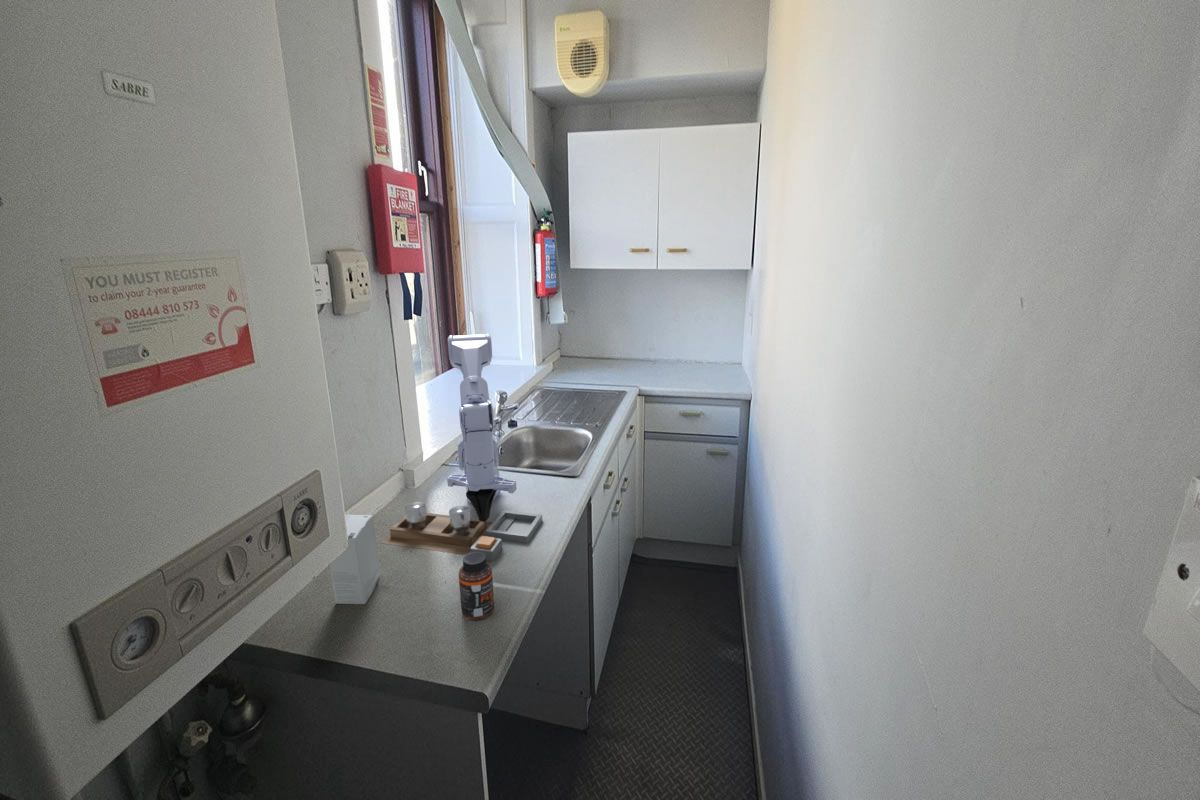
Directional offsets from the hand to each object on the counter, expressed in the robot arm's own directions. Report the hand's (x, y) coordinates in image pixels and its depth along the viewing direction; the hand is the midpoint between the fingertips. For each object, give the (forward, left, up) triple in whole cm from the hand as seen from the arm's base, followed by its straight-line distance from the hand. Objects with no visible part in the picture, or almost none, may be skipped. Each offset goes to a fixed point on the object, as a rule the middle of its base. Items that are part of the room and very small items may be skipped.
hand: (484, 519), depth 115 cm
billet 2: (-5, -8, -8) cm, 12 cm away
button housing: (0, 0, -9) cm, 9 cm away
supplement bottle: (+17, +6, -9) cm, 20 cm away
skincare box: (+17, -19, -9) cm, 27 cm away
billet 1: (-5, -19, -8) cm, 22 cm away
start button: (0, 0, -8) cm, 8 cm away
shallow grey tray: (-11, +2, -9) cm, 14 cm away
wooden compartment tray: (-5, -14, -9) cm, 17 cm away
